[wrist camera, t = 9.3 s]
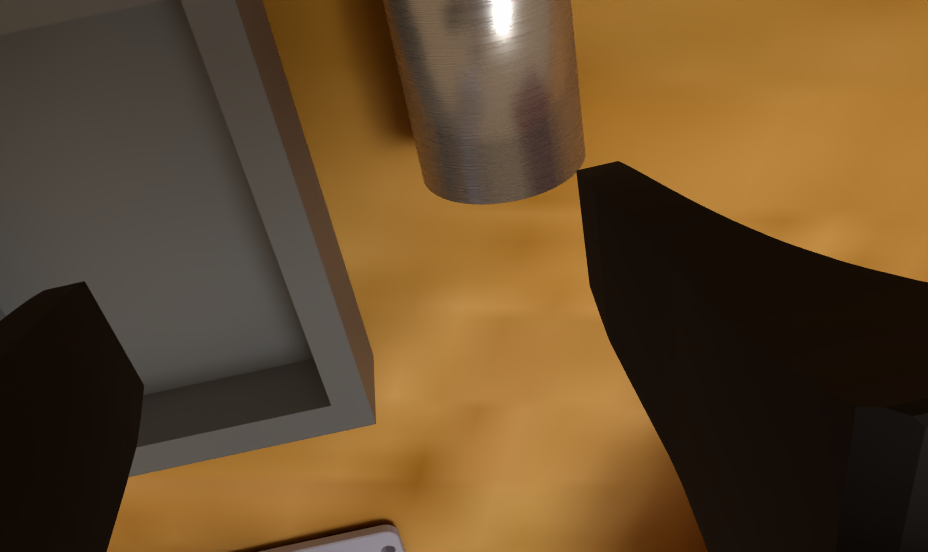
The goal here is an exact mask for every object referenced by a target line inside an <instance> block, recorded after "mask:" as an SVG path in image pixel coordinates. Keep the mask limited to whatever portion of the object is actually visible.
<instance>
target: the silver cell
mask: <svg viewBox="0 0 928 552" xmlns="http://www.w3.org/2000/svg"><path fill="white" fill-rule="evenodd" d="M383 5H384V9H385V14H386V18H387V22H388V27H389V31H390V35H391V40H392V44H393V49H394V53H395V57H396V62H397V66H398V71H399V75H400V79H401V84H402V88H403V92H404V97H405V101H406V106H407V110H408V114H409V119H410V123H411V127H412V132H413V136H414V141H415V145H416V149H417V154H418V158H419V162H420V167H421V171H422V176H423V180H424V183H425V185H426V187H427V188H428V189H429V190H430V191H431V192H433V193H434V194H435V195H437V196H439V197H441V198H444V199H447V200H450V201H454V202H459V203H466V204H497V203H505V202H512V201H517V200H521V199H525V198H529V197H532V196H535V195H538V194H541V193H544V192H546V191H548V190H551V189H553V188H555V187H557V186H559V185H560V184H562V183H564V182H565V181H567V180H568V179H569V178H571V177H572V176H573V175H574V174H575V173H576V172H577V170H579V169H580V167H581V166H582V164H583V162H584V159H585V145H584V134H583V123H582V113H581V102H580V92H579V81H578V70H577V60H576V49H575V39H574V28H573V17H572V7H571V0H383Z"/></svg>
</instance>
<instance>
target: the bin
mask: <svg viewBox="0 0 928 552" xmlns="http://www.w3.org/2000/svg"><path fill="white" fill-rule="evenodd" d="M83 281H85V282H86V284H87V286H88V288H89V289H90V291H91V293H92V295H93V296H94V298H95V300H96V302H97V303H98V305H99V307H100V309H101V310H102V312H103V314H104V316H105V317H106V319H107V321H108V323H109V324H110V326H111V328H112V330H113V331H114V333H115V335H116V337H117V338H118V340H119V342H120V344H121V345H122V347H123V349H124V351H125V353H126V354H127V356H128V358H129V360H130V361H131V363H132V365H133V367H134V368H135V370H136V372H137V374H138V375H139V377H140V379H141V381H142V382H143V384H144V393H143V403H142V413H141V421H140V428H139V435H138V442H137V447H136V451H135V455H134V459H133V462H132V466H131V469H130V473H129V476H128V477H131V476H136V475H140V474H145V473H150V472H154V471H159V470H164V469H168V468H173V467H178V466H182V465H187V464H191V463H196V462H201V461H205V460H210V459H215V458H219V457H224V456H229V455H233V454H238V453H243V452H247V451H252V450H257V449H261V448H266V447H271V446H275V445H280V444H285V443H289V442H294V441H299V440H303V439H308V438H313V437H317V436H322V435H327V434H331V433H336V432H341V431H345V430H350V429H355V428H359V427H364V426H369V425H373V424H376V412H375V386H374V360H373V353H372V350H371V347H370V344H369V341H368V337H367V334H366V331H365V328H364V325H363V321H362V318H361V315H360V312H359V309H358V305H357V302H356V299H355V296H354V293H353V290H352V286H351V283H350V280H349V277H348V274H347V270H346V267H345V264H344V261H343V258H342V254H341V251H340V248H339V245H338V242H337V239H336V235H335V232H334V229H333V226H332V223H331V219H330V216H329V213H328V210H327V207H326V204H325V200H324V197H323V194H322V191H321V188H320V184H319V181H318V178H317V175H316V172H315V168H314V165H313V162H312V159H311V156H310V153H309V149H308V146H307V143H306V140H305V137H304V133H303V130H302V127H301V124H300V121H299V117H298V114H297V111H296V108H295V105H294V102H293V98H292V95H291V92H290V89H289V86H288V82H287V79H286V76H285V73H284V70H283V67H282V63H281V60H280V57H279V54H278V51H277V47H276V44H275V41H274V38H273V35H272V31H271V28H270V25H269V22H268V19H267V16H266V12H265V9H264V6H263V3H262V0H0V321H1V320H2V319H3V318H4V317H6V316H7V315H8V314H10V313H11V312H12V311H14V310H15V309H16V308H18V307H19V306H20V305H22V304H23V303H25V302H26V301H27V300H29V299H30V298H32V297H34V296H35V295H37V294H38V293H40V292H42V291H43V290H47V289H52V288H56V287H61V286H65V285H69V284H74V283H78V282H83Z"/></svg>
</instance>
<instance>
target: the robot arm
mask: <svg viewBox="0 0 928 552" xmlns="http://www.w3.org/2000/svg"><path fill="white" fill-rule="evenodd" d="M577 180H578V188H579V197H580V206H581V214H582V223H583V231H584V240H585V249H586V257H587V266H588V274H589V283H590V288H591V290H592V293H593V296H594V299H595V302H596V305H597V308H598V311H599V314H600V316H601V319H602V322H603V325H604V327H605V330H606V333H607V336H608V338H609V341H610V343H611V345H612V347H613V349H614V351H615V353H616V355H617V356H618V358H619V360H620V362H621V364H622V366H623V368H624V370H625V372H626V374H627V376H628V378H629V380H630V382H631V384H632V386H633V388H634V389H635V391H636V393H637V395H638V397H639V399H640V401H641V403H642V405H643V407H644V409H645V411H646V412H647V414H648V416H649V418H650V420H651V422H652V424H653V426H654V428H655V430H656V432H657V434H658V435H659V437H660V439H661V441H662V443H663V445H664V447H665V449H666V451H667V453H668V455H669V457H670V459H671V461H672V463H673V465H674V467H675V470H676V472H677V474H678V476H679V478H680V480H681V483H682V485H683V488H684V490H685V493H686V495H687V498H688V500H689V503H690V506H691V508H692V511H693V513H694V516H695V518H696V521H697V524H698V526H699V529H700V531H701V534H702V536H703V539H704V542H705V544H706V547H707V549H708V552H928V282H923V281H918V280H914V279H910V278H905V277H901V276H897V275H893V274H889V273H885V272H880V271H876V270H872V269H868V268H864V267H861V266H857V265H853V264H850V263H846V262H843V261H839V260H836V259H833V258H830V257H827V256H824V255H821V254H818V253H815V252H812V251H809V250H806V249H803V248H800V247H797V246H794V245H791V244H788V243H786V242H783V241H780V240H778V239H775V238H772V237H770V236H767V235H765V234H763V233H760V232H758V231H756V230H753V229H751V228H749V227H746V226H744V225H742V224H739V223H737V222H735V221H733V220H730V219H728V218H726V217H724V216H722V215H720V214H718V213H716V212H714V211H712V210H710V209H708V208H705V207H703V206H701V205H700V204H698V203H696V202H694V201H692V200H690V199H688V198H686V197H684V196H682V195H680V194H679V193H677V192H675V191H673V190H671V189H669V188H667V187H666V186H664V185H662V184H660V183H658V182H657V181H655V180H653V179H651V178H649V177H648V176H646V175H644V174H642V173H640V172H639V171H637V170H635V169H633V168H631V167H629V166H627V165H626V164H623V163H621V162H619V161H617V162H612V163H608V164H603V165H599V166H594V167H590V168H585V169H581V170H577ZM143 393H144V384H143V382H142V381H141V379H140V377H139V375H138V374H137V372H136V370H135V368H134V367H133V365H132V363H131V361H130V360H129V358H128V356H127V354H126V353H125V351H124V349H123V347H122V345H121V344H120V342H119V340H118V338H117V337H116V335H115V333H114V331H113V330H112V328H111V326H110V324H109V323H108V321H107V319H106V317H105V316H104V314H103V312H102V310H101V309H100V307H99V305H98V303H97V302H96V300H95V298H94V296H93V295H92V293H91V291H90V289H89V288H88V286H87V284H86V282H85V281H83V282H78V283H74V284H69V285H65V286H61V287H56V288H52V289H47V290H43V291H42V292H40V293H38V294H37V295H35V296H34V297H32V298H30V299H29V300H27V301H26V302H25V303H23V304H22V305H20V306H19V307H18V308H16V309H15V310H14V311H12V312H11V313H10V314H8V315H7V316H6V317H4V318H3V319H2V320H1V321H0V552H107V548H108V545H109V542H110V538H111V535H112V531H113V528H114V525H115V521H116V518H117V514H118V511H119V508H120V504H121V501H122V498H123V494H124V491H125V487H126V484H127V480H128V476H129V473H130V469H131V466H132V462H133V459H134V455H135V451H136V447H137V442H138V435H139V428H140V421H141V413H142V403H143ZM259 552H406V551H405V548H404V545H403V543H402V540H401V537H400V534H399V531H398V530H397V528H396V527H394V526H392V525H380V526H375V527H371V528H366V529H361V530H357V531H352V532H347V533H343V534H338V535H333V536H329V537H324V538H319V539H315V540H310V541H305V542H301V543H296V544H292V545H287V546H282V547H278V548H273V549H268V550H264V551H259Z"/></svg>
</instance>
